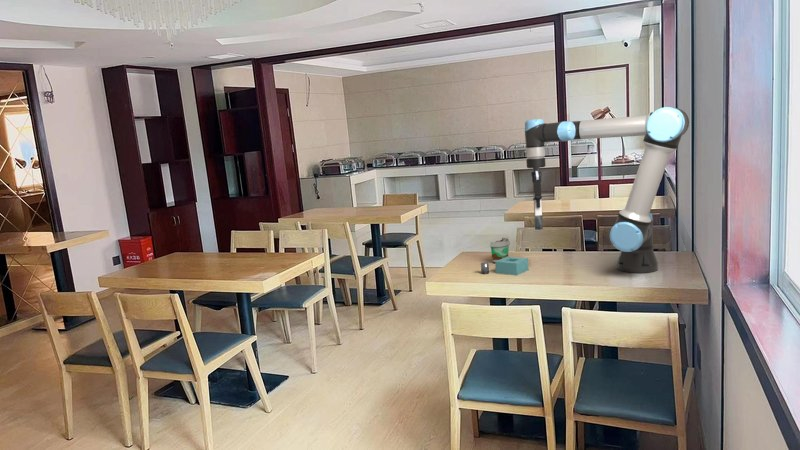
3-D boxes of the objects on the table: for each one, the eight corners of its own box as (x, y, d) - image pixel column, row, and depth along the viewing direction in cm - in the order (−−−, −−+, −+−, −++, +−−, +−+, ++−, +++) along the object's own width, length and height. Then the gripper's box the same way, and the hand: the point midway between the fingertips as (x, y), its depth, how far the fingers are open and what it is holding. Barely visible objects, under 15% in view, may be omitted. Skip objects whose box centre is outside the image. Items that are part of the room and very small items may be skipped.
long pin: (544, 228, 232) (542, 192, 230) (540, 229, 229) (539, 193, 227) (537, 228, 234) (535, 192, 232) (533, 229, 232) (531, 193, 229)
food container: (503, 265, 249) (502, 243, 248) (491, 264, 253) (489, 242, 252) (515, 259, 259) (514, 238, 258) (503, 258, 263) (502, 237, 261)
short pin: (490, 272, 237) (489, 262, 237) (486, 274, 235) (485, 264, 234) (484, 272, 239) (483, 261, 239) (480, 273, 237) (479, 263, 236)
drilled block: (528, 269, 237) (528, 258, 236) (516, 275, 230) (516, 263, 229) (507, 267, 243) (507, 256, 243) (495, 273, 236) (495, 261, 235)
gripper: (525, 157, 236) (528, 212, 239) (527, 159, 220) (529, 218, 224) (543, 156, 235) (546, 211, 238) (546, 157, 219) (549, 216, 222)
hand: (538, 214), depth 231 cm, fingers closed on long pin, 3 cm apart
